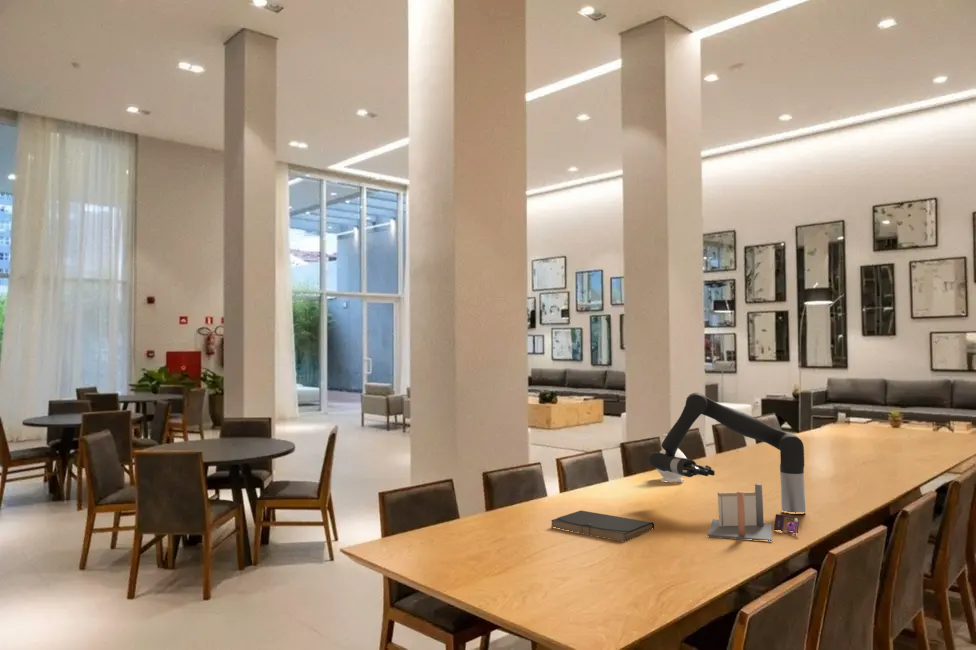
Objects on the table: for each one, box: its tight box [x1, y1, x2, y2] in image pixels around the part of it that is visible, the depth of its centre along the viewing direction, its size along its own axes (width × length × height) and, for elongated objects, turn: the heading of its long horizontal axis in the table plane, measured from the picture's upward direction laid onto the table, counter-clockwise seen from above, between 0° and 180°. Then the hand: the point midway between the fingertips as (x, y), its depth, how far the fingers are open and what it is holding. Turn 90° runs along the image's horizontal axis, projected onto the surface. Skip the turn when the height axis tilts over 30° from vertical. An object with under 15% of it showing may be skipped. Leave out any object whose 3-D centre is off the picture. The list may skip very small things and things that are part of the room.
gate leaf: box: [717, 490, 756, 526], centre depth 253 cm, size 14×2×13 cm, turn 92°
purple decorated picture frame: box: [773, 513, 800, 534], centre depth 247 cm, size 7×5×9 cm
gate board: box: [707, 483, 773, 542], centre depth 250 cm, size 24×22×17 cm
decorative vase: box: [655, 433, 688, 483], centre depth 352 cm, size 18×18×25 cm
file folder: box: [550, 510, 655, 543], centre depth 258 cm, size 33×4×24 cm
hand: (710, 473), depth 264 cm, fingers open, 2 cm apart
